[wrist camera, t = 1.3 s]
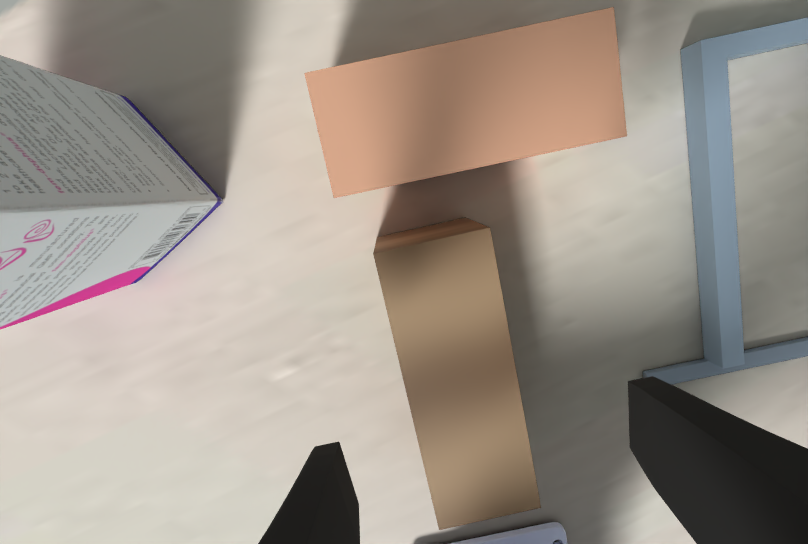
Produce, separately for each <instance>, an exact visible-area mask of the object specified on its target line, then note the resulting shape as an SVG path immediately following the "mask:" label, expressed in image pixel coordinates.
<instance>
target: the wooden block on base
mask: <svg viewBox="0 0 808 544" xmlns="http://www.w3.org/2000/svg"><path fill="white" fill-rule="evenodd" d="M373 254H374V258H375V263H376V267H377V271H378V275H379V279H380V284H381V288H382V292H383V296H384V300H385V305H386V309H387V313H388V317H389V321H390V326H391V330H392V334H393V338H394V342H395V347H396V351H397V355H398V359H399V363H400V367H401V372H402V376H403V380H404V384H405V388H406V393H407V397H408V401H409V405H410V409H411V414H412V418H413V422H414V426H415V430H416V435H417V439H418V443H419V447H420V451H421V456H422V460H423V464H424V468H425V472H426V476H427V481H428V485H429V489H430V493H431V497H432V502H433V506H434V510H435V514H436V518H437V523H438V527H439V530H442V529H447V528H451V527H456V526H460V525H465V524H469V523H474V522H478V521H483V520H487V519H492V518H497V517H501V516H506V515H510V514H515V513H519V512H524V511H528V510H533V509H537V508H541V504H540V499H539V493H538V488H537V482H536V477H535V471H534V466H533V460H532V455H531V449H530V444H529V438H528V433H527V427H526V422H525V416H524V411H523V405H522V400H521V394H520V389H519V383H518V378H517V373H516V367H515V362H514V356H513V351H512V345H511V340H510V334H509V329H508V323H507V318H506V312H505V307H504V301H503V296H502V290H501V285H500V279H499V274H498V268H497V263H496V257H495V252H494V246H493V241H492V235H491V230H490V227H487V226H485V225H483V224H480V223H478V222H475V221H473V220H470V219H468V218H460V219H456V220H452V221H447V222H443V223H438V224H434V225H429V226H425V227H420V228H416V229H412V230H407V231H403V232H398V233H394V234H389V235H385V236H381V237H377V240H376V244H375V249H374V253H373Z"/></svg>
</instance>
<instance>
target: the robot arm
mask: <svg viewBox="0 0 808 544" xmlns="http://www.w3.org/2000/svg"><path fill="white" fill-rule="evenodd" d="M628 397H629V436H630V449H631V450H632V452H633V454H634V455H635V457H636V459H637V461H638V462H639V464H640V466H641V467H642V469H643V471H644V472H645V474H646V476H647V477H648V479H649V480H650V482H651V484H652V485H653V487H654V488H655V490H656V491H657V492H658V494H659V495H660V496H661V498H662V499H663V500H664V502H665V503H666V504H667V506H668V507H669V508H670V509H671V511H672V512H673V513H674V515H675V516H676V517H677V519H678V520H679V521H680V523H681V524H682V525H683V526H684V528H685V529H686V530H687V532H688V533H689V534H690V535H691V537H692V538H693V539H694V541H695V542H696V543H697V544H808V449H807V448H805V447H803V446H800V445H798V444H796V443H793V442H791V441H789V440H786V439H784V438H782V437H779V436H777V435H775V434H773V433H770V432H768V431H766V430H764V429H762V428H759V427H757V426H755V425H753V424H751V423H749V422H747V421H744V420H742V419H740V418H738V417H736V416H734V415H732V414H730V413H728V412H726V411H724V410H722V409H720V408H717V407H715V406H713V405H711V404H709V403H707V402H705V401H703V400H701V399H699V398H697V397H695V396H693V395H691V394H689V393H687V392H685V391H683V390H681V389H679V388H677V387H675V386H673V385H671V384H669V383H667V382H665V381H662V380H660V379H658V378H656V377H654V376H651V377H646V378H641V379H637V380H632V381H628ZM555 540H559V541H558V542H554V541H555ZM258 544H360V526H359V503H358V500H357V497H356V493H355V490H354V487H353V484H352V481H351V478H350V474H349V471H348V468H347V465H346V462H345V459H344V455H343V452H342V449H341V446H340V443H339V442H335V443H330V444H325V445H321V446H316V447H314V449H313V450H312V452H311V454H310V455H309V457H308V459H307V461H306V463H305V465H304V466H303V468H302V470H301V472H300V474H299V476H298V478H297V479H296V481H295V483H294V485H293V487H292V488H291V490H290V492H289V494H288V496H287V497H286V499H285V501H284V502H283V504H282V506H281V507H280V509H279V511H278V513H277V514H276V516H275V518H274V519H273V521H272V523H271V524H270V526H269V528H268V529H267V531H266V532H265V534H264V536H263V537H262V539H261V540H260V542H259V543H258ZM449 544H568V543H567V537H566V532H565V530H564V528H563V526H562V525H561V524H560V523H558V522H551V523H546V524H541V525H536V526H531V527H527V528H522V529H517V530H512V531H507V532H502V533H498V534H493V535H488V536H483V537H478V538H473V539H468V540H464V541H459V542H454V543H449Z"/></svg>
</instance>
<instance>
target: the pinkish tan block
mask: <svg viewBox="0 0 808 544" xmlns="http://www.w3.org/2000/svg"><path fill="white" fill-rule="evenodd" d="M305 78H306V82H307V86H308V90H309V95H310V99H311V103H312V107H313V112H314V116H315V120H316V124H317V129H318V133H319V137H320V141H321V145H322V150H323V154H324V158H325V162H326V167H327V171H328V175H329V179H330V184H331V188H332V192H333V196H334V198H337V197H342V196H347V195H351V194H356V193H361V192H366V191H370V190H375V189H380V188H385V187H389V186H394V185H399V184H403V183H408V182H413V181H418V180H422V179H427V178H432V177H437V176H441V175H446V174H451V173H455V172H460V171H465V170H470V169H474V168H479V167H484V166H489V165H493V164H498V163H503V162H508V161H512V160H517V159H522V158H526V157H531V156H536V155H541V154H545V153H550V152H555V151H560V150H564V149H569V148H574V147H578V146H583V145H588V144H593V143H597V142H602V141H607V140H611V139H616V138H621V137H625V136H627V131H626V121H625V112H624V102H623V92H622V82H621V73H620V63H619V53H618V43H617V33H616V24H615V14H614V7H611V8H607V9H602V10H597V11H593V12H588V13H583V14H579V15H574V16H569V17H565V18H560V19H555V20H550V21H546V22H541V23H536V24H532V25H527V26H522V27H518V28H513V29H508V30H504V31H499V32H494V33H490V34H485V35H480V36H476V37H471V38H466V39H462V40H457V41H452V42H448V43H443V44H438V45H434V46H429V47H424V48H419V49H415V50H410V51H405V52H401V53H396V54H391V55H387V56H382V57H377V58H373V59H368V60H363V61H359V62H354V63H349V64H345V65H340V66H335V67H331V68H326V69H321V70H317V71H312V72H307V73H305Z"/></svg>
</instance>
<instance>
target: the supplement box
mask: <svg viewBox="0 0 808 544" xmlns="http://www.w3.org/2000/svg"><path fill="white" fill-rule="evenodd" d="M222 202H223V199H222V198H221V197H220V196H219V195H218V194H217V192H216V191H215V190H214V189H213V188H212V187H211V186H210V185H209V184H208V183H207V182H206V181H205V180H204V179H203V178H202V177H201V176H200V175H199V174H198V173H197V172H196V170H195V169H194V168H193V167H192V166H191V165H190V164H189V163H188V162H187V161H186V160H185V159H184V158H183V157H182V156H181V155H180V154H179V153H178V152H177V150H176V149H175V148H174V147H173V146H172V145H171V144H170V143H169V142H168V141H167V140H166V138H165V137H164V136H163V135H162V134H161V133H160V132H159V131H158V130H157V128H156V127H155V126H154V125H153V124H152V123H151V122H150V121H149V120H148V119H147V118H146V117H145V116H144V115H143V114H142V113H141V112H140V111H139V109H138V108H137V107H136V106H135V105H134V104H133V103H132V102H131V101H130V100H129V99H128V98H126V97H124V96H121V95H117V94H114V93H112V92H109V91H106V90H103V89H100V88H97V87H94V86H91V85H87V84H84V83H81V82H78V81H75V80H72V79H69V78H66V77H63V76H60V75H57V74H54V73H51V72H48V71H45V70H42V69H39V68H36V67H33V66H31V65H28V64H25V63H23V62H19V61H16V60H13V59H10V58H7V57H4V56H1V55H0V329H3V328H6V327H9V326H12V325H15V324H18V323H21V322H24V321H26V320H29V319H32V318H35V317H38V316H40V315H44V314H47V313H49V312H52V311H55V310H58V309H61V308H63V307H66V306H69V305H72V304H75V303H78V302H81V301H84V300H87V299H90V298H92V297H95V296H98V295H101V294H104V293H107V292H109V291H112V290H115V289H118V288H121V287H124V286H127V285H130V284H133V283H136V282H137V281H139V280H140V279H142V278H143V277H144V276H145V275H146V274H147V273H148V272H149V271H150V270H152V269H153V268H154V267H155V266H156V265H157V264H158V263H159V262H160V261H161V260H162V259H163V258H165V257H166V256H167V255H168V254H169V253H170V252H171V251H172V250H173V249H174V248H175V247H176V246H177V245H179V244H180V243H181V242H182V241H183V240H184V239H185V238H186V237H187V236H188V235H189V234H190V233H191V232H192V231H193V230H194V229H195V228H196V227H197V226H199V225H200V224H201V223H202V222H203V221H204V220H205V219H206V218H207V217H208V216H209V215H210V214H211V213H212V212H213V211H214V210H215V209H216V208H217V207H218V206H219V205H220V204H221V203H222Z"/></svg>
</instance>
